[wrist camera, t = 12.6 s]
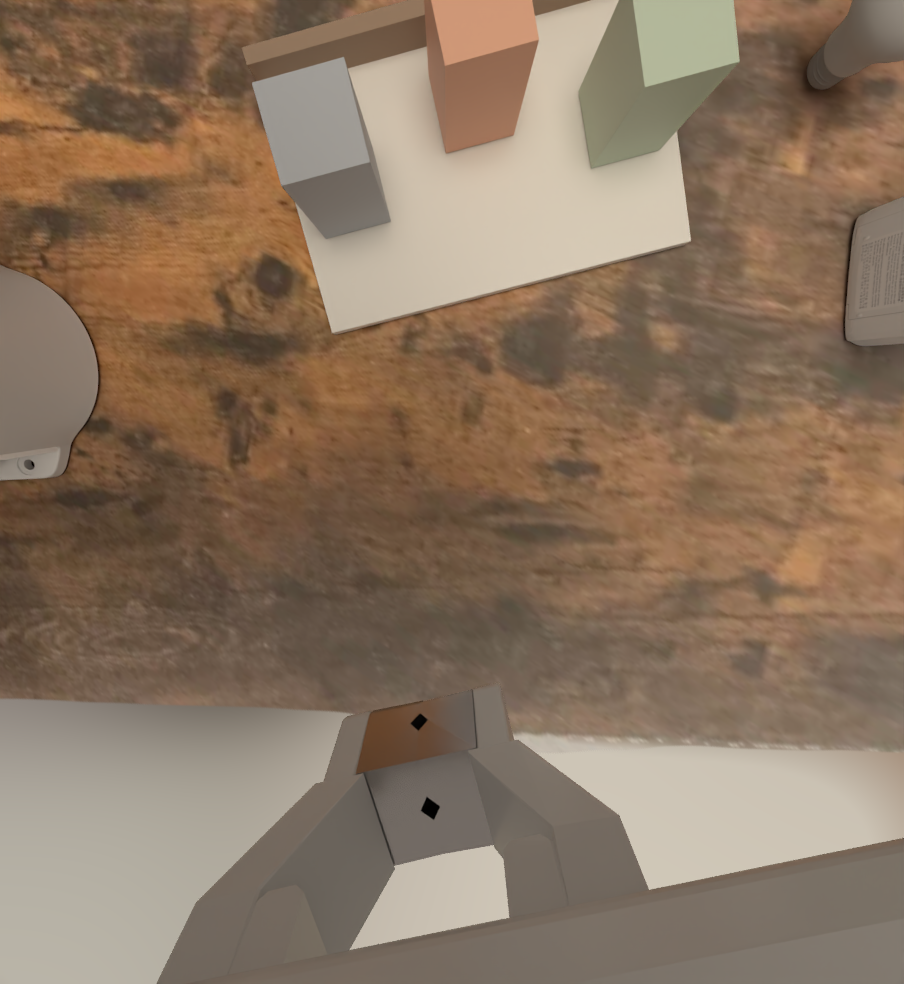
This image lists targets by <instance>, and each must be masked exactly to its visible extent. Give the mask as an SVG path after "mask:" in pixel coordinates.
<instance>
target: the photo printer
mask: <svg viewBox="0 0 904 984" xmlns="http://www.w3.org/2000/svg"><path fill="white" fill-rule="evenodd" d="M845 335H846V339H847V341H851V342H852V343H854V344H856V345H859V346H877V345H891V344H904V197H901V198H899V199H896V200H894V201H891V202H889V203H886V204H884V205H881V206H879V207H876V208H874V209H871V210H869V211H868V212H866V213H865V214H862V215H860V216H859V217H858V219H857V220H856V224H855V228H854V232H853V238H852V247H851V256H850V267H849V277H848V290H847V302H846V316H845Z"/></svg>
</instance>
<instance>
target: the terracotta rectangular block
mask: <svg viewBox="0 0 904 984" xmlns="http://www.w3.org/2000/svg"><path fill="white" fill-rule="evenodd" d="M424 9H425V25H426V41H427V57H428V74H429V79H430V84H431V88H432V93H433V97H434V102H435V107H436V111H437V116H438V120H439V125H440V129H441V134H442V138H443V143H444V148H445V152H446V153H449V152H453V151H457V150H460V149H464V148H468V147H472V146H475V145H479V144H483V143H486V142H490V141H494V140H497V139H501V138H505V137H509V136H512V135H514V132H515V128H516V125H517V121H518V117H519V113H520V110H521V106H522V102H523V98H524V95H525V91H526V87H527V83H528V79H529V76H530V72H531V68H532V64H533V61H534V57H535V53H536V49H537V45H538V42H539V36H538V31H537V25H536V19H535V14H534V8H533V2H532V0H424Z"/></svg>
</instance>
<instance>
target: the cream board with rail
mask: <svg viewBox="0 0 904 984" xmlns="http://www.w3.org/2000/svg"><path fill="white" fill-rule="evenodd" d="M618 1H619V0H532V2H533V8H534V14H535V19H536V25H537V31H538V36H539V42H538V45H537V49H536V53H535V57H534V61H533V64H532V68H531V72H530V76H529V79H528V83H527V87H526V91H525V95H524V98H523V102H522V106H521V110H520V113H519V117H518V121H517V125H516V128H515V132H514V135H512V136H509V137H505V138H501V139H497V140H494V141H490V142H486V143H483V144H479V145H475V146H472V147H468V148H464V149H460V150H457V151H453V152H449V153H446V152H445V148H444V143H443V138H442V134H441V129H440V125H439V120H438V116H437V111H436V107H435V102H434V97H433V93H432V88H431V84H430V79H429V74H428V57H427V41H426V25H425V9H424V0H407V1H403V2H400V3H396V4H393V5H389V6H386V7H382V8H379V9H375V10H372V11H368V12H365V13H361V14H358V15H354V16H351V17H347V18H344V19H340V20H337V21H333V22H330V23H326V24H322V25H319V26H315V27H312V28H308V29H305V30H301V31H298V32H294V33H291V34H287V35H284V36H280V37H277V38H273V39H270V40H266V41H263V42H259V43H256V44H252V45H249V46H245V47H242V49H243V53H244V56H245V60H246V63H247V66H248V68H249V69H250V71H251V72H252V74H253V75H254V77H255V79H256V80H257V81H260V80H263V79H267V78H271V77H274V76H278V75H281V74H285V73H288V72H292V71H295V70H299V69H303V68H306V67H310V66H313V65H317V64H320V63H324V62H327V61H331V60H334V59H338V58H342V57H344V59H345V62H346V65H347V68H348V71H349V74H350V78H351V81H352V84H353V87H354V90H355V93H356V96H357V100H358V103H359V106H360V109H361V112H362V115H363V119H364V122H365V125H366V128H367V131H368V134H369V137H370V141H371V144H372V147H373V151H374V155H375V159H376V163H377V167H378V171H379V175H380V179H381V183H382V187H383V191H384V195H385V199H386V203H387V207H388V212H389V216H390V220H391V222H387V223H384V224H380V225H376V226H372V227H369V228H365V229H361V230H357V231H354V232H350V233H346V234H342V235H339V236H335V237H331V238H327V239H326V238H325V237H324V236H323V235H322V234H321V233H320V231H319V230H318V229H317V228H316V227H315V225H314V224H313V223H312V222H311V221H310V219H309V218H308V217H307V216H306V215H305V213H304V212H303V211H302V210H301V209H300V207H299V206H298V205H297V204H296V207H297V211H298V214H299V218H300V221H301V225H302V228H303V232H304V235H305V239H306V242H307V246H308V249H309V253H310V256H311V260H312V263H313V267H314V271H315V274H316V278H317V281H318V285H319V288H320V292H321V295H322V299H323V302H324V306H325V309H326V313H327V316H328V320H329V323H330V327H331V331H332V333H333V334H335V335H336V334H340V333H344V332H348V331H352V330H356V329H360V328H364V327H368V326H372V325H375V324H379V323H383V322H387V321H391V320H395V319H399V318H403V317H407V316H410V315H414V314H418V313H422V312H426V311H430V310H434V309H438V308H442V307H446V306H449V305H453V304H457V303H461V302H465V301H469V300H473V299H477V298H481V297H484V296H488V295H492V294H496V293H500V292H504V291H508V290H512V289H516V288H519V287H523V286H527V285H531V284H535V283H539V282H543V281H547V280H551V279H555V278H558V277H562V276H566V275H570V274H574V273H578V272H582V271H586V270H590V269H593V268H597V267H601V266H605V265H609V264H613V263H617V262H621V261H625V260H628V259H632V258H636V257H640V256H644V255H648V254H652V253H656V252H660V251H664V250H667V249H671V248H675V247H679V246H683V245H685V244H687V243H688V242H690V241H691V238H690V230H689V222H688V214H687V207H686V199H685V191H684V183H683V175H682V168H681V160H680V152H679V144H678V137H677V131H676V132H675V134H674V135H673V136H672V137H671V138H670V139H669V140H668V141H667V142H666V143H665V145H664V146H663V147H662V148H661V149H660V150H658V151H655V152H651V153H647V154H643V155H640V156H636V157H632V158H628V159H625V160H621V161H617V162H613V163H610V164H606V165H602V166H598V167H594V168H591V165H590V159H589V153H588V147H587V141H586V135H585V128H584V122H583V116H582V110H581V104H580V98H579V92H578V91H579V89H580V86H581V84H582V82H583V80H584V77H585V75H586V73H587V71H588V69H589V66H590V64H591V62H592V60H593V57H594V55H595V53H596V51H597V48H598V46H599V44H600V42H601V39H602V37H603V35H604V33H605V30H606V28H607V26H608V24H609V21H610V19H611V17H612V15H613V12H614V10H615V8H616V6H617V3H618Z"/></svg>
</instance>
